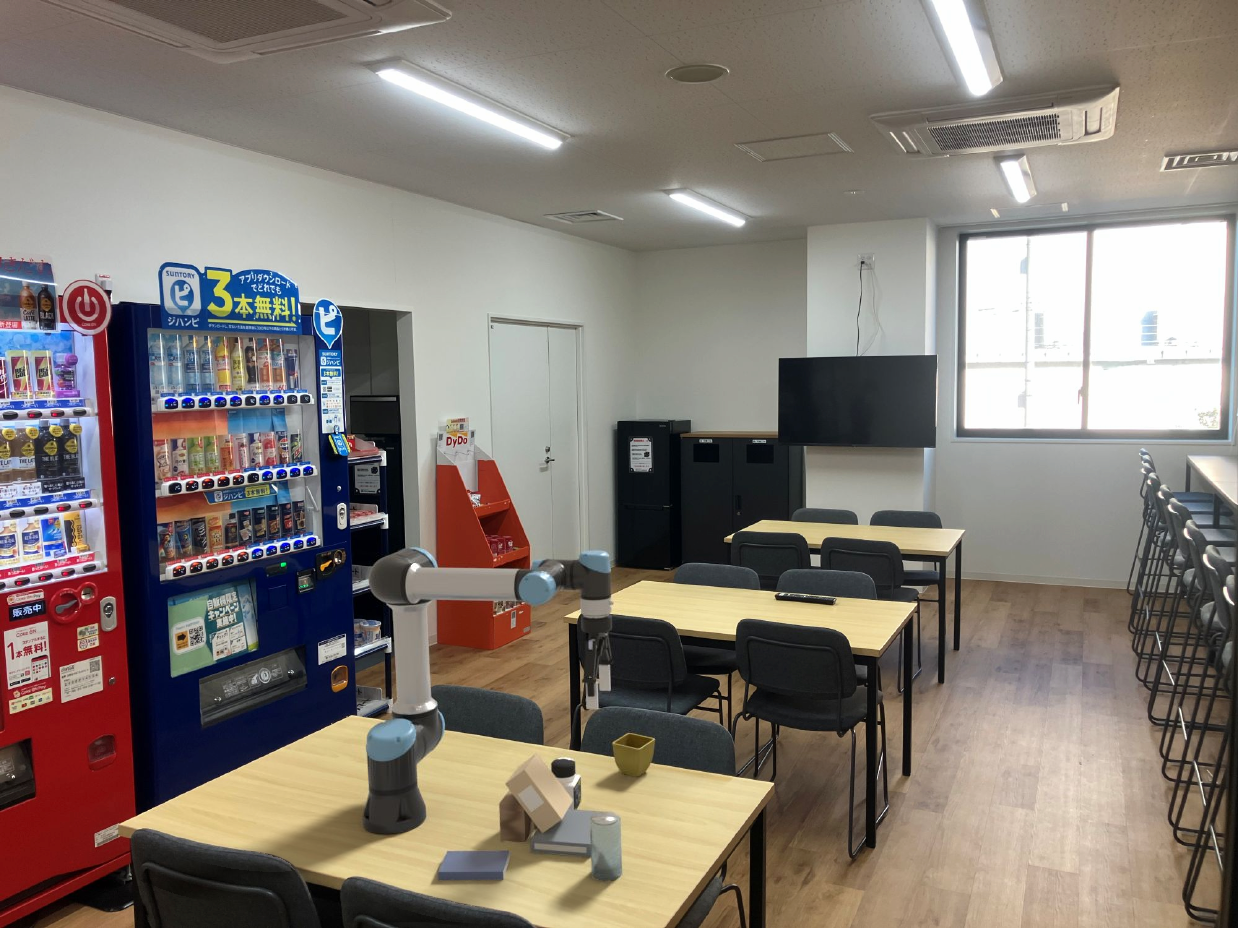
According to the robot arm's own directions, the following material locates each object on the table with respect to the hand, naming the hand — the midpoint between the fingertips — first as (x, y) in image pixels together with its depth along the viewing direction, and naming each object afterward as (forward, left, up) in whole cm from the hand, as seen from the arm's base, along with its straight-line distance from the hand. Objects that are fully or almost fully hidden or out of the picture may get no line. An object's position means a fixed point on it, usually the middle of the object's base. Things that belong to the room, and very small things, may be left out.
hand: (598, 699), depth 226 cm
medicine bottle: (-10, 0, -28) cm, 30 cm away
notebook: (-21, -32, -29) cm, 48 cm away
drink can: (+8, -29, -28) cm, 41 cm away
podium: (-4, -15, -28) cm, 32 cm away
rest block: (-17, -15, -28) cm, 36 cm away
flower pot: (+4, +23, -28) cm, 36 cm away
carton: (-7, -15, -23) cm, 29 cm away
